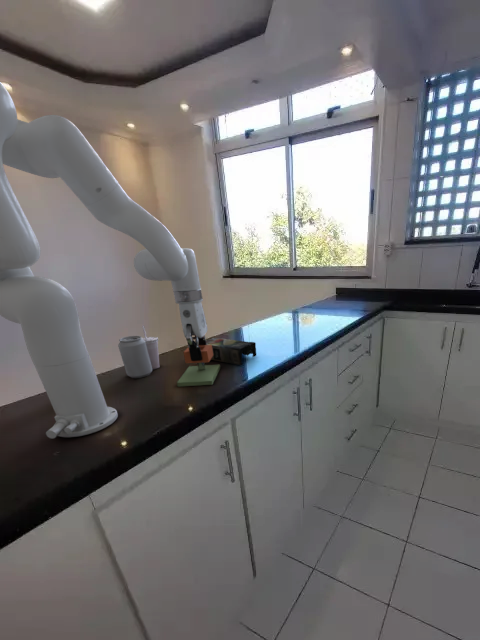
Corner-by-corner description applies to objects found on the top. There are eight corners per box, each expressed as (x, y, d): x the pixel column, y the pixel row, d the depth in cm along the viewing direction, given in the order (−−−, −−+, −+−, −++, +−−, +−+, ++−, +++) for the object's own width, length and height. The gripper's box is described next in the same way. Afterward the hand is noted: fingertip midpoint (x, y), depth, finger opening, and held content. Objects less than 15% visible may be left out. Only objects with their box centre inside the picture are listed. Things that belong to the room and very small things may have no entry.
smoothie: (139, 369, 102) (128, 327, 97) (151, 364, 108) (142, 323, 102) (155, 370, 101) (146, 327, 95) (167, 365, 107) (159, 323, 101)
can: (157, 370, 102) (148, 334, 96) (145, 379, 95) (134, 341, 90) (136, 370, 103) (126, 334, 97) (122, 379, 96) (110, 341, 91)
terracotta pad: (209, 362, 93) (207, 351, 92) (185, 363, 93) (183, 352, 91) (213, 355, 100) (211, 344, 98) (191, 356, 99) (189, 345, 98)
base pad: (212, 384, 89) (210, 371, 88) (177, 386, 89) (174, 373, 87) (220, 367, 102) (218, 355, 100) (189, 369, 102) (187, 357, 100)
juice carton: (196, 358, 112) (193, 341, 109) (215, 351, 119) (213, 335, 117) (240, 366, 103) (238, 348, 100) (258, 358, 111) (256, 341, 108)
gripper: (194, 300, 80) (206, 365, 88) (207, 291, 96) (217, 347, 104) (165, 302, 80) (179, 366, 88) (183, 293, 96) (194, 348, 104)
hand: (199, 355), depth 96 cm, fingers closed on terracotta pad, 7 cm apart
